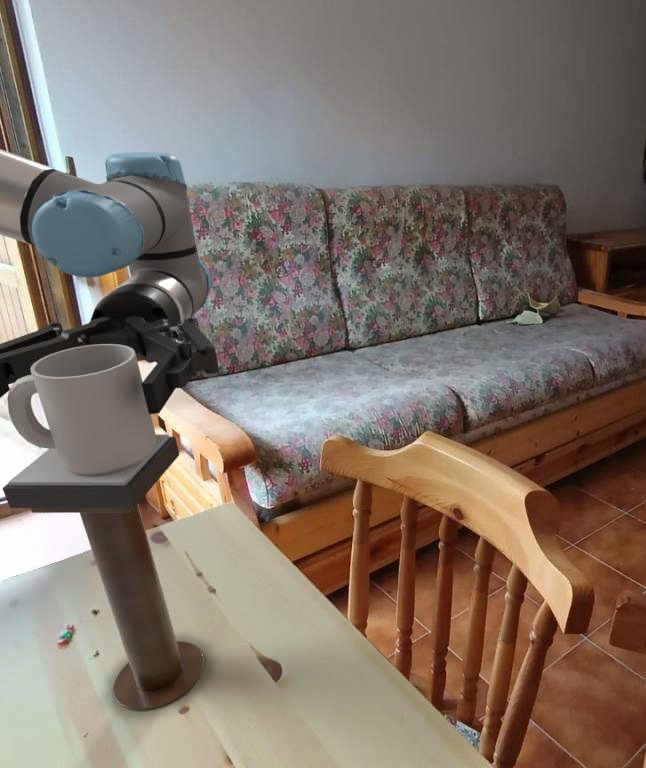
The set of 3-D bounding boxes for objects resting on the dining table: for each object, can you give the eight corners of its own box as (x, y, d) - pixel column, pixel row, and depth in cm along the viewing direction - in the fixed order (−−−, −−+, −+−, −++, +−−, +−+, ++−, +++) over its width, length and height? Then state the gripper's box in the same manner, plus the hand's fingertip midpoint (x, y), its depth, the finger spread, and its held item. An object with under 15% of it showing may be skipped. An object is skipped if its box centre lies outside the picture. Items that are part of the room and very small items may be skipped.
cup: (146, 471, 52) (120, 374, 49) (8, 486, 50) (-31, 385, 46) (166, 430, 59) (145, 341, 55) (44, 441, 56) (13, 349, 53)
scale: (6, 508, 51) (-4, 483, 50) (68, 454, 59) (61, 432, 58) (134, 508, 52) (127, 483, 51) (179, 454, 59) (174, 432, 58)
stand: (98, 716, 62) (19, 508, 51) (141, 648, 70) (80, 454, 59) (184, 715, 62) (124, 508, 52) (218, 647, 70) (171, 454, 59)
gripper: (270, 343, 71) (233, 434, 53) (24, 354, 67) (-114, 459, 48) (261, 278, 68) (218, 351, 49) (1, 286, 64) (-155, 369, 45)
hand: (54, 404), depth 49 cm, fingers open, 13 cm apart
